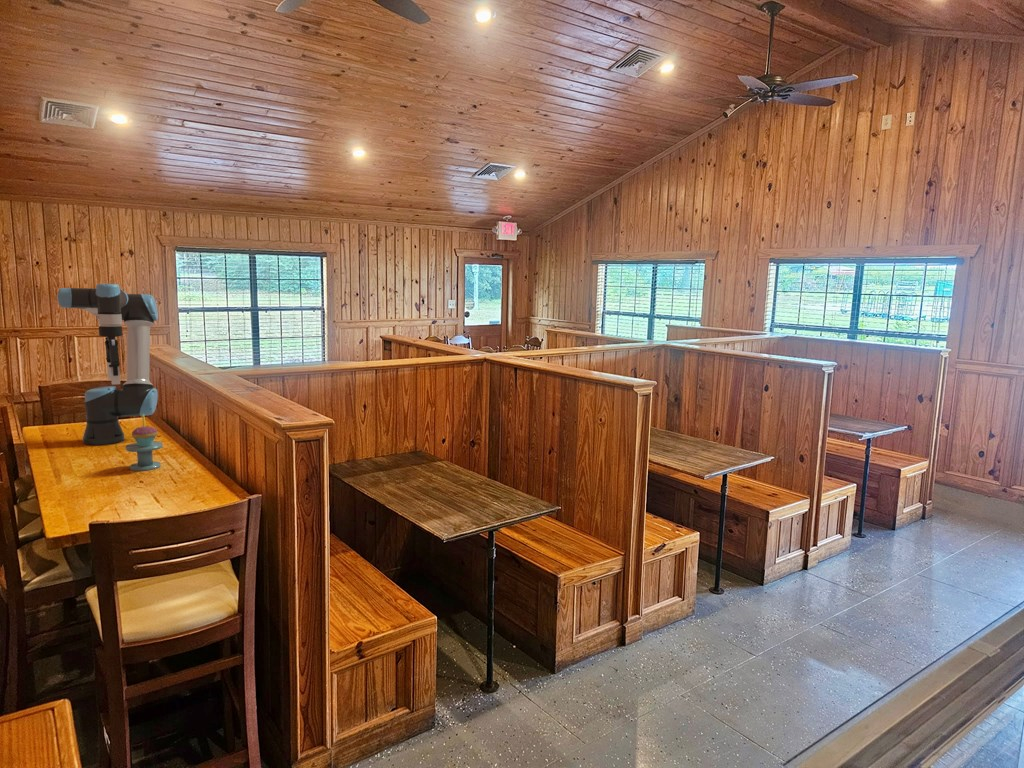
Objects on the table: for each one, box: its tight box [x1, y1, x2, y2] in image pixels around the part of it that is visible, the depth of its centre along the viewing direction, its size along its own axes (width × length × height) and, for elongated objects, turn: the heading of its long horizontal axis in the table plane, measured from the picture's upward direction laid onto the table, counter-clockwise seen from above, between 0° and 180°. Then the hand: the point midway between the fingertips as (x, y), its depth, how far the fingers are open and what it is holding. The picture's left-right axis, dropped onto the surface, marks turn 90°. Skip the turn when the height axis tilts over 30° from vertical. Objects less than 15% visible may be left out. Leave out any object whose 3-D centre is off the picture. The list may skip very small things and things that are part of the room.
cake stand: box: [125, 440, 164, 472], centre depth 242 cm, size 12×12×8 cm
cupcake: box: [131, 413, 159, 447], centre depth 240 cm, size 9×8×12 cm
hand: (114, 381), depth 245 cm, fingers open, 13 cm apart
